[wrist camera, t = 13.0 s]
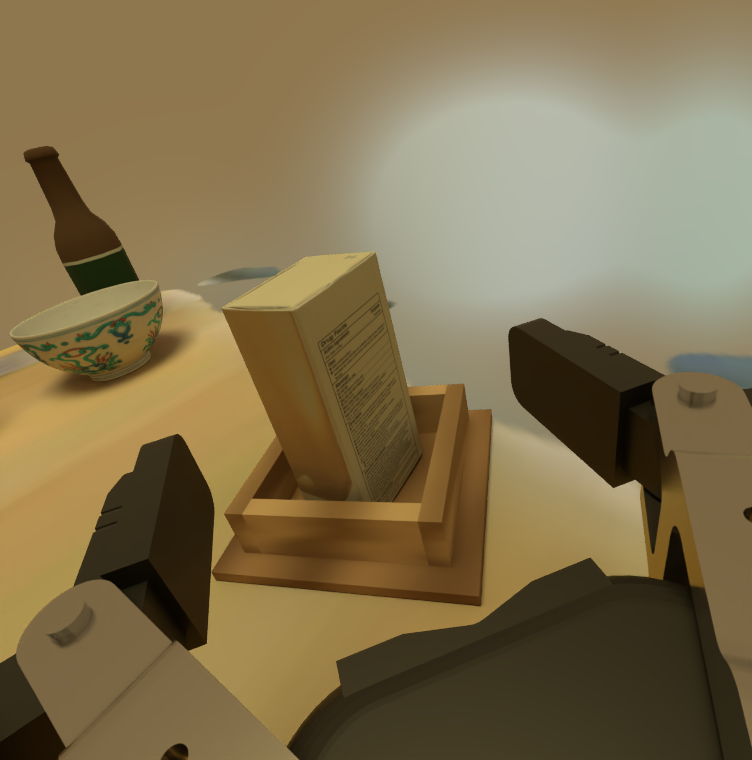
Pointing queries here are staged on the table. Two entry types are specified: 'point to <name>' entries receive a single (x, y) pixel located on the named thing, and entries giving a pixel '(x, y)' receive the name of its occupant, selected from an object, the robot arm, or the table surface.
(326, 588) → the holder
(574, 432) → the robot arm
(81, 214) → the beer bottle
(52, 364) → the chinaware
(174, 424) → the table surface
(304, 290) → the skincare box
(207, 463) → the table surface
